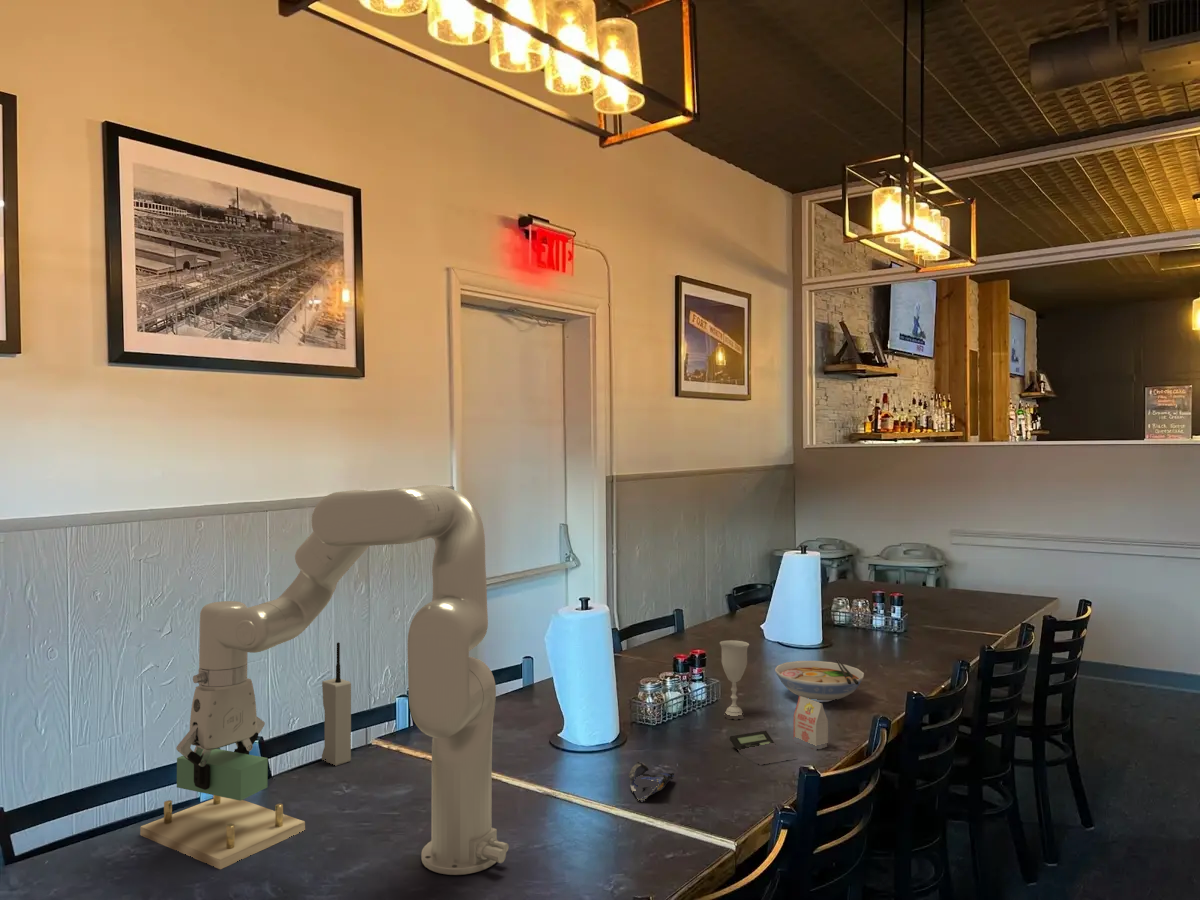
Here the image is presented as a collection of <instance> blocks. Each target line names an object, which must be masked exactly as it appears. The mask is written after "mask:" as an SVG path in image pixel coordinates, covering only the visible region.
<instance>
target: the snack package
mask: <svg viewBox="0 0 1200 900" xmlns="http://www.w3.org/2000/svg"><path fill="white" fill-rule="evenodd" d="M649 770H650V769H649V767H648V766H647V765H646V763H644V762H641V761H637V762H636V763H635V764H634V765H633V766H632V767H631V770H630V772H629V774H628V778H630V780H629V786H630V789H631V791H632V792H633V791H636V787H638V785H636V784H635V783H634V781H635V780H634V778H635V779H636V777H638V776H640V775H643V776H650V777H643V778H641V779H647V780H651V781H656V782H659V784H658V786H656V787H654V789H652V790H651V791H650V792H649V793H648V794H646V795H644V796H643V797H644V799H642V798H637V799H638V800H637V801H639V800H644V801H646V800H647V799H648V797H650V796H652V795H655V793H657V792H659V791H662V790H663V789H664V788H665V786H666V785H667V784H668V783H669V781H670V780H673V779H674V777H675V773H673V772H672V773H666V772H665V773H663V772H660V773H655V774H650V773H649V774H648V773H646V772H649ZM645 799H646V800H645Z"/></svg>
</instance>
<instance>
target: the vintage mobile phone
mask: <svg viewBox="0 0 1200 900" xmlns="http://www.w3.org/2000/svg"><path fill="white" fill-rule="evenodd" d="M340 646H341V645H340V642H336V665H335V678H331V679H326V680H322V681H321V685H322V686H321V688H322V689H321V690H322V705H323V710H324V746H323V751H322V754H321V760H322V761H323V760H324V761H323V762H325V761H326V762H325V763H327V764H329V763H330V765H332V764H333V765H332V766H334V765H335V767H337V766H340V765H342V764H347V763H349V762H350V761H351V760H352V683H351V681H349V680H346V679H342V678H341V662H340V661H341V660H340V659H341V656H340V654H341V652H340V651H341V649H340V648H341V647H340ZM325 759H326V760H325Z"/></svg>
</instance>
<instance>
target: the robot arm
mask: <svg viewBox="0 0 1200 900" xmlns="http://www.w3.org/2000/svg"><path fill="white" fill-rule="evenodd" d="M312 511H313V512H312V514H311V528H312V530H313V531H312V533H311V534H309V536H308V537H307V538H306V539H305V540H304V542H302V544H301V545H299V547H298V548H297V549H296V551H295V555H294V560H295V563H296V565H297V568H298V569H299V573H298V574H297V576H296V577H295V578H294V580H293V581H292V582H291V584H290V585H289V586H288V587H287V588H286V589H285V590H284V591H283V592H282V594H281V595H280V596H279V597H277V598H276V599H273V600H270V601H265V602H262V603H260V604H257V605H252V606H249V607H248V606H247V605H246V604H245V603H243V602H241V601H235V600H227V601H225V600H224V601H216V602H214V601H213V602H210V603H207V604H205V605H203V607H202V609H201V610H200V613H199V649H198V651H199V656H198V658H199V659H198V666H199V667H198V673H197V674H196V675H193V677H192V681H193V684H198V686H196V687H195V690H194V693H193V698H192V704H191V710H190V717H189V718H190V719H189V731H187V733H186V734H185V736H184V737H183V738H182V740H181V741H179V743H178V744H177V745H176V751H177V752H179V754H181V756H184V757H185V758H186V759H188V760H189V761H190V762H191V763H192V764H194V783H195V786H196V787H198V788H201V789H204V790H206V789H209V787H210V766H209V765H207V764H206V763H207V761H208V758H209V756H210V753H211V751H212V750H214V749H221V748H224V747H227V746H230V745H233V744H235V745H236V747H237V748H234V751H233V752H237V753H243V754H248V755H250V752H251V751H252V750H253V748H254V746H253V745H254V743H256V741H257V739H258V737H259V734H260V733H261V732H262V730H263V728H264V727H265V724H266V722H265V721H264V720H262V718H260V717H258V716H257V704H256V695H255V690H254V685H253V682H252V679H251V678H248V653H251V654H252V653H261V652H264V651H266V650H270V649H272V648H274V647H276V646H279V645H281V644H284V643H286V642H289V641H291V640H293V639H295V638H296V637H299V635H300V634H302V633H304V631H305V630H307V628H308V627H309V626H310V625H311V624H312V623H313V622H314V621H315V619H317V617H318V616H319V615H321V613H322V611H323V610H324V609H325V608H326V607H327V605H328V604H329V602H330V601H331V599H332V597H333V594H334V592H335V590H336V589H337V585H338V582H339V581H340V580H341V579H342V577H343V576H345V574H346V573H347V572H348V571H349V570H350V568H351V567H352V566H353V565H354V564H355V563H356V562H357V561H358V559H360V557H361V556H362V555H363V554H364V553H365V552H366V551H367V550H368V549H369V548H370V546H385V545H386V546H388V545H389V546H390V545H391V546H392V545H402V544H403V545H405V544H406V545H407V544H412V543H417V542H419V541H424V540H427V539H433V540H434V544H435V545H434V546H435V549H434V552H433V558H432V566H431V567H432V568H431V569H432V570H431V573H432V574H431V575H432V598H431V601H430V602H428V603H427V604H425V605H424V606H422V607H421V608H420V609H419V610H418V611H416V613H415V615H414V616H413V618H412V620H411V621H410V625H409V629H408V633H407V680H408V681H407V682H408V684H407V685H408V704H409V709H410V710H409V711H410V715H411V718H412V721H413V722H414V724H415V725H416V727H417V728H418V729H419V730H420V731H421V732H422V733H423V734H424V735H426V736H428V737H430V738H432V740H431V829H430V830H431V839H430V841H429V842H427V844H425V845H424V846H423V848H422V849H421V863H422V865H423V866H424V867H425V868H427V869H428V870H429V871H431V872H434V873H438V874H441V875H442V874H443V875H449V876H462V875H470V874H471V875H472V874H475V873H479V872H481V871H484V870H487V869H488V868H490V867H492V866H493V865H495V864H496V863H498V864H502V863H504V861H505V860H506V857H507V852H508V850H509V847H510V846H509V845H510V844H509V843H507V842H504V841H499V840H498V838H497V833H498V831H497V828H495V827H492V806H493V805H492V797H493V796H492V791H493V790H492V785H493V784H492V782H493V781H492V776H493V775H492V770H493V769H492V764H493V763H492V759H493V727H494V726H493V725H494V715H495V707H496V696H497V692H496V691H497V689H496V688H497V685H496V681H495V677H494V675H493V672H492V670H491V668H490V667H489V666H488V665H487V664H486V663H485V662H484V661H483V660H481V659H478V658H476V657H474V656H470V653H469V652H470V651H471V650H473V649H475V648H476V647H478V645H479V644H480V643H481V642H482V641H484V638H485V636H486V634H487V631H488V628H489V626H488V625H489V616H488V596H487V593H488V592H487V591H488V588H487V587H488V586H487V571H486V570H487V569H486V538H485V528H484V524H483V521H482V518H481V516H480V513H479V511H478V509H477V508H476V506H475V505H474V504H473V502H471V500H470V499H468V498H467V497H466V496H465V495H464V494H462V493H461V492H459V491H457V490H454V489H452V488H450V487H447V486H443V485H437V484H436V485H435V484H428V485H418V486H411V487H410V486H409V487H401V488H392V489H380V490H379V489H377V490H364V489H353V490H344V491H343V490H341V491H336V492H332V493H330V494H327V495H326V496H324V497H323V498H322V499H320V500H319V501H318V503H317V504H316V506H314V509H313V510H312ZM192 746H194V749H193V750H192V748H191V747H192ZM203 749H204V750H203ZM193 751H194V752H193ZM202 751H203V752H202ZM201 753H202V755H201Z"/></svg>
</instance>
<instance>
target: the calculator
mask: <svg viewBox="0 0 1200 900" xmlns="http://www.w3.org/2000/svg"><path fill="white" fill-rule="evenodd" d="M729 741H730V742H731V744H732V745H733V747H734V748H735V749H736V748H737V749H739V750H741V749H745V748H749V747H755V746H759V745H765V744H769V743H775V742H774V740H773V739H772V737H771V736H770V734H769V733H768V731H767V730H761V731H756V732H749V733H743V734H742V733H741V734H737V735H736V734H734V735H731V736H729Z"/></svg>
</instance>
